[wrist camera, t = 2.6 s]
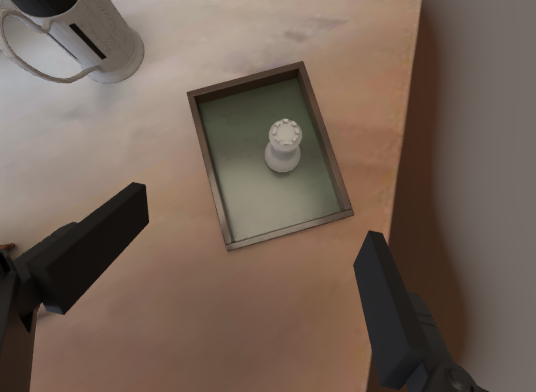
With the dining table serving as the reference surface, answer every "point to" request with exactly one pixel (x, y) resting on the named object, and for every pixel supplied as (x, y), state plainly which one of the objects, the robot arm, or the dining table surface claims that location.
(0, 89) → the dining table surface
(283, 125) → the rook chess piece
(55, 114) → the dining table surface
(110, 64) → the glass holder
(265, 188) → the tray
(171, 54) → the dining table surface
